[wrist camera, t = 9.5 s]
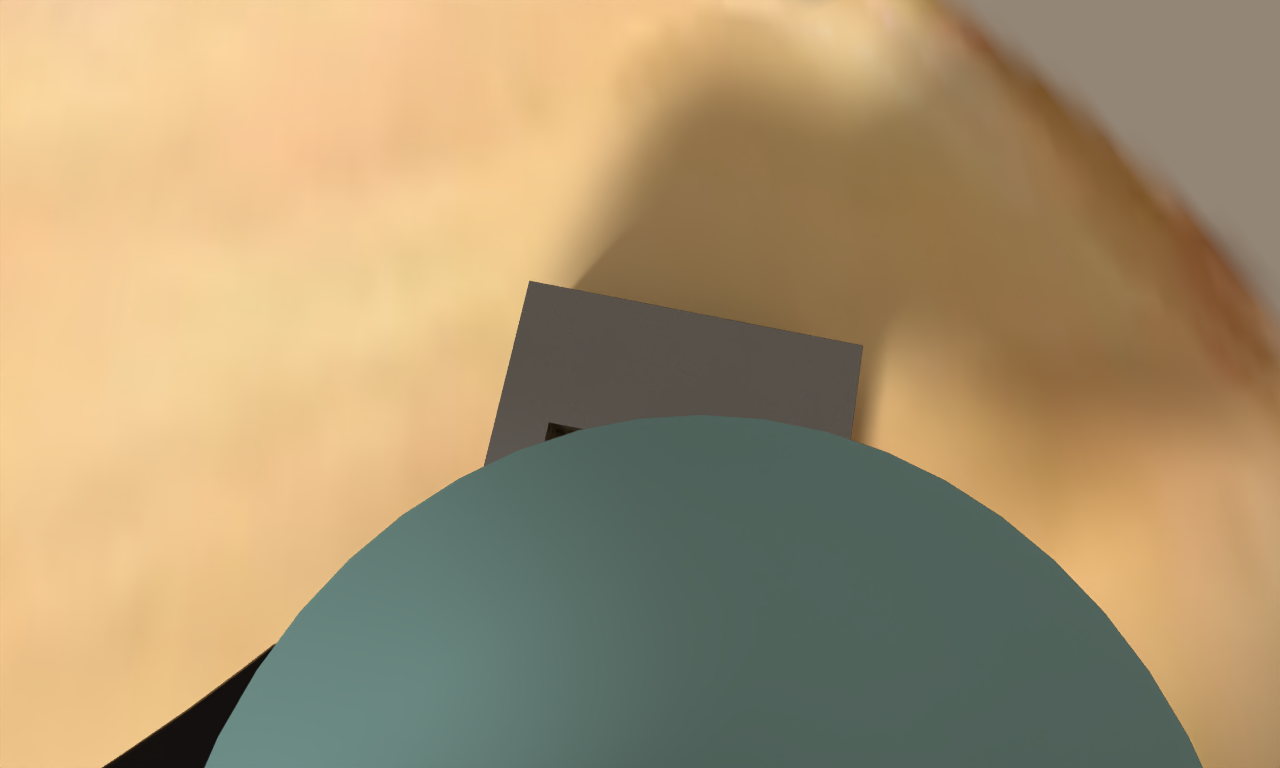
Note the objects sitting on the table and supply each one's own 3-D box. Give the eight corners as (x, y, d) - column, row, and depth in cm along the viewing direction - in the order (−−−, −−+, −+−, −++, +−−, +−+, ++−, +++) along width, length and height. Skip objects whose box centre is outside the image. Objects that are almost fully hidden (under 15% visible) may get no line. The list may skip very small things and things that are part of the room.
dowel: (755, 578, 15) (1511, 1089, 2) (628, 682, 14) (591, 2195, 2) (658, 451, 15) (782, 235, 3) (533, 547, 15) (-62, 856, 2)
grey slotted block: (697, 1235, 13) (716, 1448, 10) (349, 1154, 13) (269, 1341, 10) (822, 371, 17) (862, 345, 14) (547, 317, 17) (529, 280, 14)
